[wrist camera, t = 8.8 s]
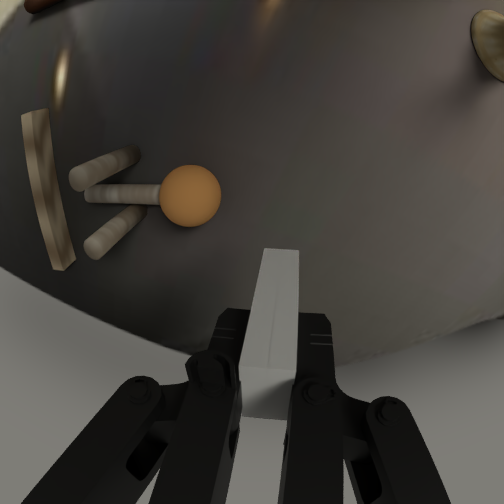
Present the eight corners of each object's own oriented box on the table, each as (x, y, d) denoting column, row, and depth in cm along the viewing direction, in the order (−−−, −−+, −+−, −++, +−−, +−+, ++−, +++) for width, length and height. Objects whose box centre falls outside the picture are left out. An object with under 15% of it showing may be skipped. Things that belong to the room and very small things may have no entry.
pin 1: (123, 145, 27) (66, 168, 19) (139, 144, 27) (85, 165, 19) (125, 164, 28) (71, 192, 20) (141, 163, 28) (89, 191, 20)
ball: (182, 176, 21) (230, 159, 25) (142, 172, 24) (188, 157, 28) (193, 243, 24) (236, 218, 28) (153, 229, 27) (195, 209, 31)
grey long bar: (38, 111, 26) (21, 115, 23) (48, 107, 25) (31, 111, 23) (66, 258, 35) (53, 269, 33) (76, 259, 35) (63, 270, 32)
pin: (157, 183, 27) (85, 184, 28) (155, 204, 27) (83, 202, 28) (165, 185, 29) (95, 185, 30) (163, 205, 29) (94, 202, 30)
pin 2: (129, 200, 30) (81, 238, 22) (146, 200, 30) (99, 238, 22) (132, 218, 31) (86, 258, 23) (148, 218, 31) (104, 260, 23)
